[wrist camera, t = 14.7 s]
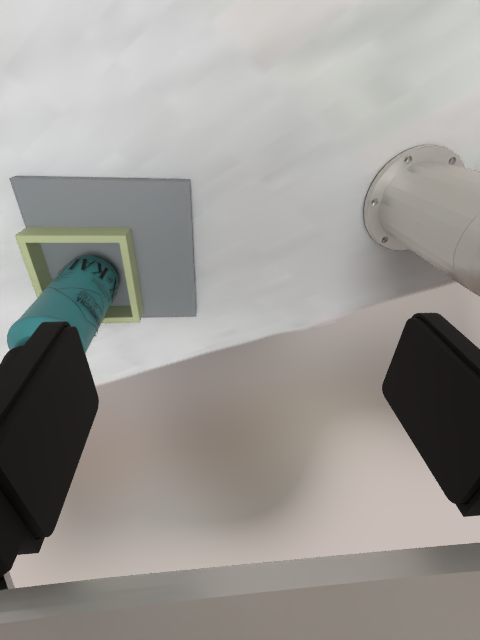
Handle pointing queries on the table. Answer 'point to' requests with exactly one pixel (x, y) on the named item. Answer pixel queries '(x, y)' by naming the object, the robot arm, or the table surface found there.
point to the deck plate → (113, 238)
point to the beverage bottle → (68, 303)
